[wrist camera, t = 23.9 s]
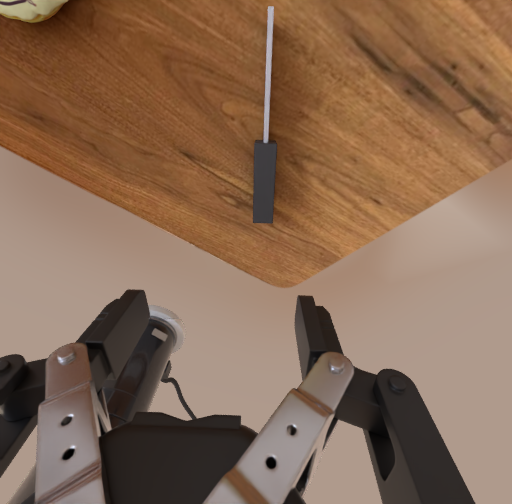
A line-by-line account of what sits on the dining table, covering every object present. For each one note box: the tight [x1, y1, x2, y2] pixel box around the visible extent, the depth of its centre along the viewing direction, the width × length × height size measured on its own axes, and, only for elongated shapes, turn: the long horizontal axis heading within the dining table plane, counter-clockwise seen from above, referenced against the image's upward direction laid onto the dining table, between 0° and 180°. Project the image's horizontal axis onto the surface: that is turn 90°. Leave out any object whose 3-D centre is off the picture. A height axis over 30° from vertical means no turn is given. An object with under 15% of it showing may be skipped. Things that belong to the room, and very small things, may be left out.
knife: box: [253, 6, 277, 223], centre depth 28 cm, size 2×20×4 cm, turn 179°
